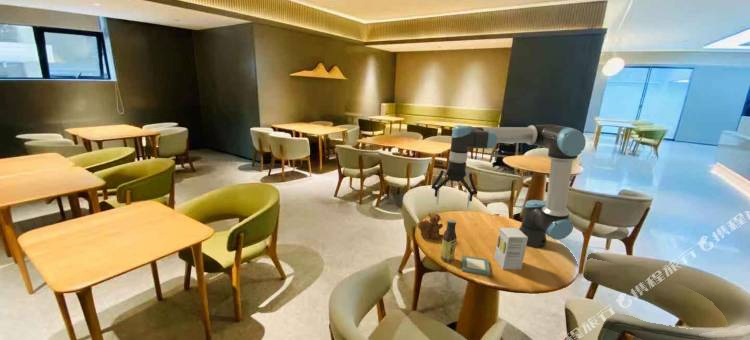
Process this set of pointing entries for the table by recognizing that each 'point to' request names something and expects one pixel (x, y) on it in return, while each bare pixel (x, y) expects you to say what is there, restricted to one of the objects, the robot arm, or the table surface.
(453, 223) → the sauce bottle
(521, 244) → the supplement box
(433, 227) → the stuffed squirrel
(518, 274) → the table surface
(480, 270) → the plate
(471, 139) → the robot arm
